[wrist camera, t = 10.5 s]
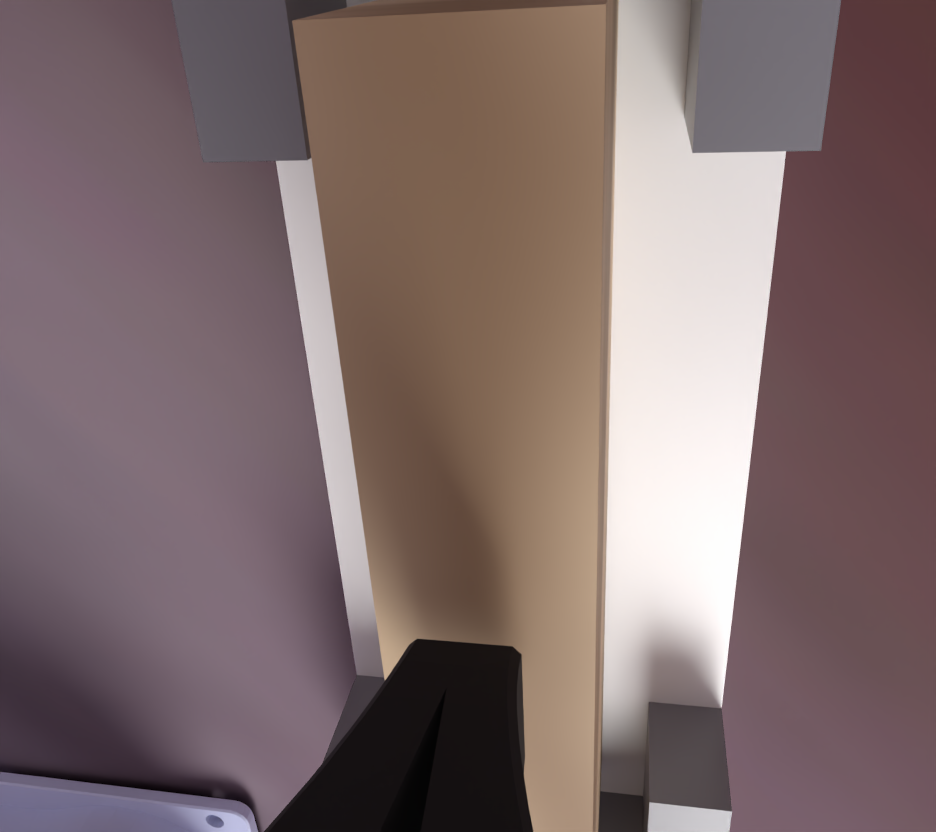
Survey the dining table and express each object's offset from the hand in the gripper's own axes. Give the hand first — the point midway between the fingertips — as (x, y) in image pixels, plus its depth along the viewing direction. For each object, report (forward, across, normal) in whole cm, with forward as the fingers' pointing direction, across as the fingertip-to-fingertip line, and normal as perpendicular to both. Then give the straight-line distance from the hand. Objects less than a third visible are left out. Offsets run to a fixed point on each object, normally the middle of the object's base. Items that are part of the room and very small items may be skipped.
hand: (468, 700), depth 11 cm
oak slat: (+6, 0, 0) cm, 6 cm away
